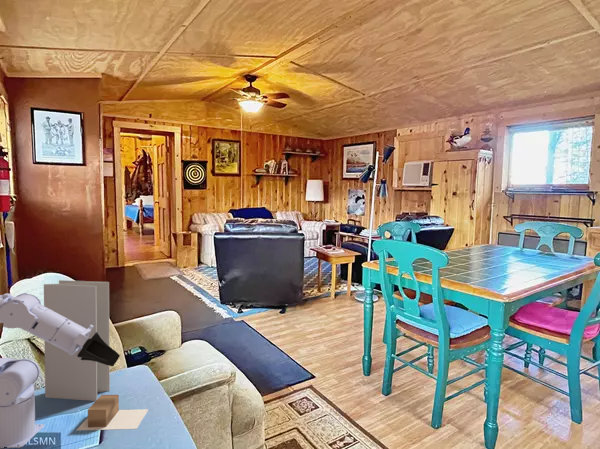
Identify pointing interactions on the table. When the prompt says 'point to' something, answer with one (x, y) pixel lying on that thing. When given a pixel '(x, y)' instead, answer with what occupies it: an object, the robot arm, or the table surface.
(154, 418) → the table surface
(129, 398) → the table surface
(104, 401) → the walnut block
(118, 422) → the beige board
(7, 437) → the robot arm
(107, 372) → the tall grey box
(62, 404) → the table surface
